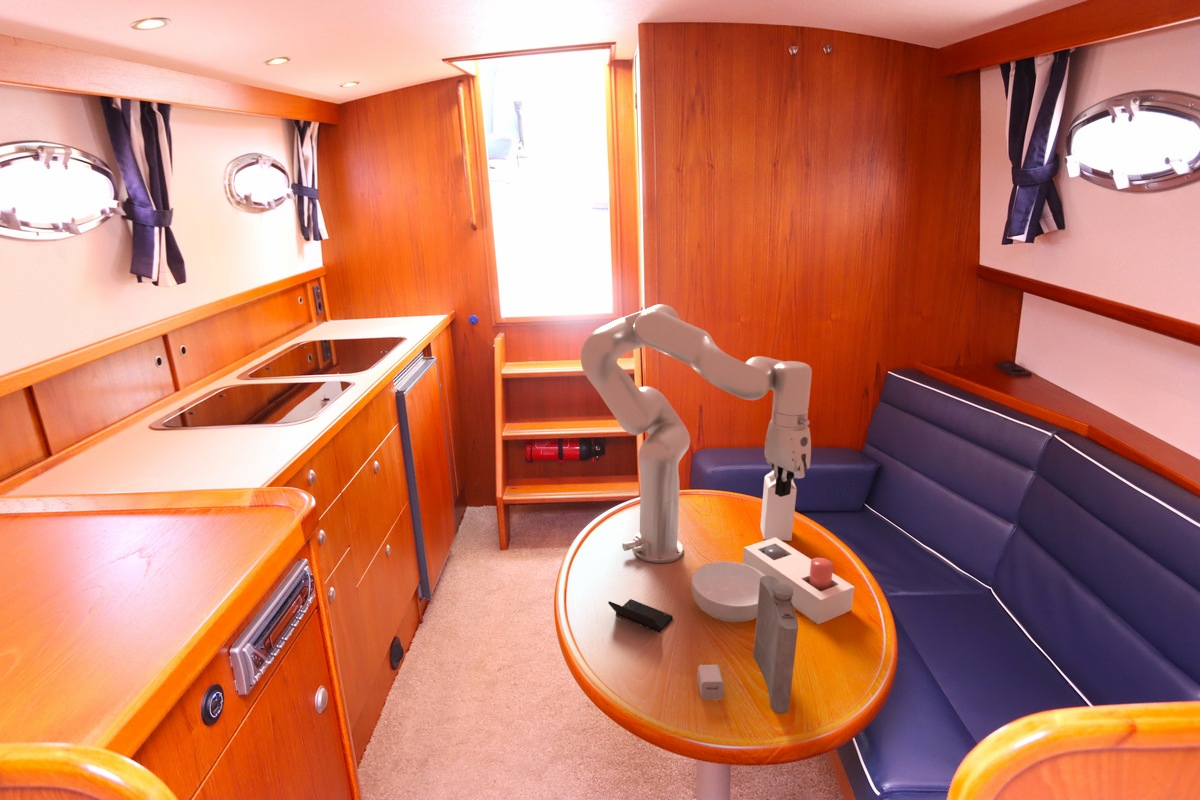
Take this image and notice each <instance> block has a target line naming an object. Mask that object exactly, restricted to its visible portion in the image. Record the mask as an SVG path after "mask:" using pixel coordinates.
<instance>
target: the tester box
mask: <svg viewBox="0 0 1200 800" xmlns="http://www.w3.org/2000/svg"><path fill="white" fill-rule="evenodd" d="M770 545H775V546H779V547H781V548H783V549H784V550H785V556H784V557H783V558H780V559H777V560H773V559H771V558H770V557H768V556H767V555H765V554H764V551H765V547H767V546H770ZM742 556H743V557H742V564H745V565H748V566H750V567H753V568H755V569H757V570H758V571H760V572H761V573H763V574H764V575H765V576H772V577H774V578H776V579H777V580H778V582H779V583H782V584H787V585H789V586H791V587H792V588H793V596H792V599H791V602H792V604H793V607H794V609H796V610H798V612H800V613H801V614H802V615H804V616H805V617H807V618H808V619H809V620H811V621H812V622H814V624H817V625H821V624H822V623H825V622H827V621H830V620H832V619H834V618H837V617H840V616H842V615H844V614H846V612H847V613H849V612H851V611H852V607H853V601H854V592H855V586H854V585H852V584H851V583H849V582H847V580H844V579H843V578H841V577H840V576H838V575H837V574H835V573H834V572H832V580H831V588H829V589H826V590H824V591H819V590H817V589H816V588H814V587H813V586H811V585H810V584H808V583H809V574H810V565H811V560H812V559H811V558H810V557H808V556H806V555H805V554H803V553H801V551H799V550H797V549H796V548H794V547H792V546H790V544H787V543H786V542H785V541H784V540H779V539H778V538H776V537H775V538H772V539H768V540H766V539H764V540H762V541H760V542H757V543H753V544H751V545H747V546H744V547H743V554H742ZM850 610H851V611H850ZM848 611H849V612H848Z"/></svg>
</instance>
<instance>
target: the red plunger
mask: <svg viewBox="0 0 1200 800" xmlns="http://www.w3.org/2000/svg"><path fill="white" fill-rule="evenodd" d="M833 571H834V563H833V561H831V560H830V559H827V558H823V557H814V558H812V559H811V565H810V574H809V583H808V584H810V585H811V586H813V587H814V588H816V589H817V590H819V591H824V590H826V589H829V588H831V580H832V573H834V572H833Z"/></svg>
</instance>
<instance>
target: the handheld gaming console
mask: <svg viewBox="0 0 1200 800" xmlns="http://www.w3.org/2000/svg"><path fill="white" fill-rule="evenodd" d="M607 604H608V605H609V606H610V607H611V609H613V612H615V616H616V617H619V618H621V619H624V620H627V621H629V622H631V623H633V624H637V625H639V626H641V627H643V628H646V629H647V628H648V629H649V630H651V631H652V632H653V631H654V632H655V633H656V634H661V633H662V631H663V630H664V629H665V628H667V627H668V625H669V624H670V623H671V622H672V621H673V618H674V615H672V614H671V613H670V614H669V613H667V612H664V611H662V610H660V609H657V608H654V607H652V606H649V605H647V604H644V603H642V602H639V601H638V600H634V599H632V598H630V599H629V600H628V601H626V602H625V603H624V605H620V604H617V603H615V602H612V601H608V602H607Z"/></svg>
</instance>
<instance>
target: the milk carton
mask: <svg viewBox="0 0 1200 800" xmlns="http://www.w3.org/2000/svg"><path fill="white" fill-rule="evenodd" d="M763 481H764V482H763V493H762V502H761V513H760V515H761V516H760V526H759V527H760V531H761V534H762V537H763V540H768V539H772V538H775V537H776V538H778V539H779V540H781V541H784V542H786V541H788V542H789V541H790V542H792V541H793V540H792V539H793V538H792V537H793V529H794V519H795V512H796V511H795V507H796V502H797V501H796V500H797V499H796V498H797V489H798V488H797V486H796V483H795V482H794V479H792V481H791V491H790V494H789V495H786V496H783V497H780V496H778V495H776V494H775V487H776V478H775V476H774V470H773V469H772V470H771V471H770V472H769V473H767V474H766V475H764V480H763Z"/></svg>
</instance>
